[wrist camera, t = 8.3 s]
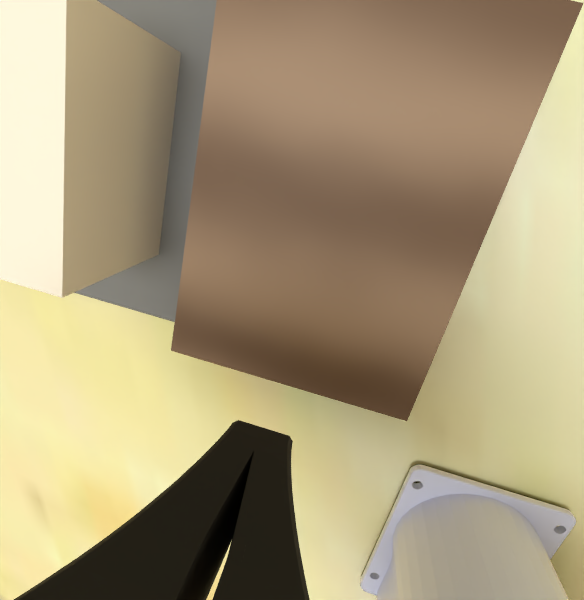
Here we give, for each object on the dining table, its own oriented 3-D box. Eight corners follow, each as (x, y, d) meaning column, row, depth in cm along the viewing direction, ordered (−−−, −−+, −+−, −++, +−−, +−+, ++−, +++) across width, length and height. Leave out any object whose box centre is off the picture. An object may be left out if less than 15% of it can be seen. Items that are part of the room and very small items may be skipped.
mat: (189, 320, 19) (184, 324, 18) (-30, 256, 20) (-41, 258, 19) (240, -26, 14) (235, -34, 13) (-58, -90, 15) (-75, -100, 14)
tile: (62, 297, 12) (-12, 275, 12) (158, 254, 17) (107, 240, 17) (66, -19, 9) (-32, -41, 9) (181, 52, 14) (119, 37, 15)
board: (399, 381, 18) (406, 421, 15) (199, 322, 19) (171, 350, 16) (535, 37, 13) (583, 2, 10) (253, -23, 14) (226, -71, 11)
